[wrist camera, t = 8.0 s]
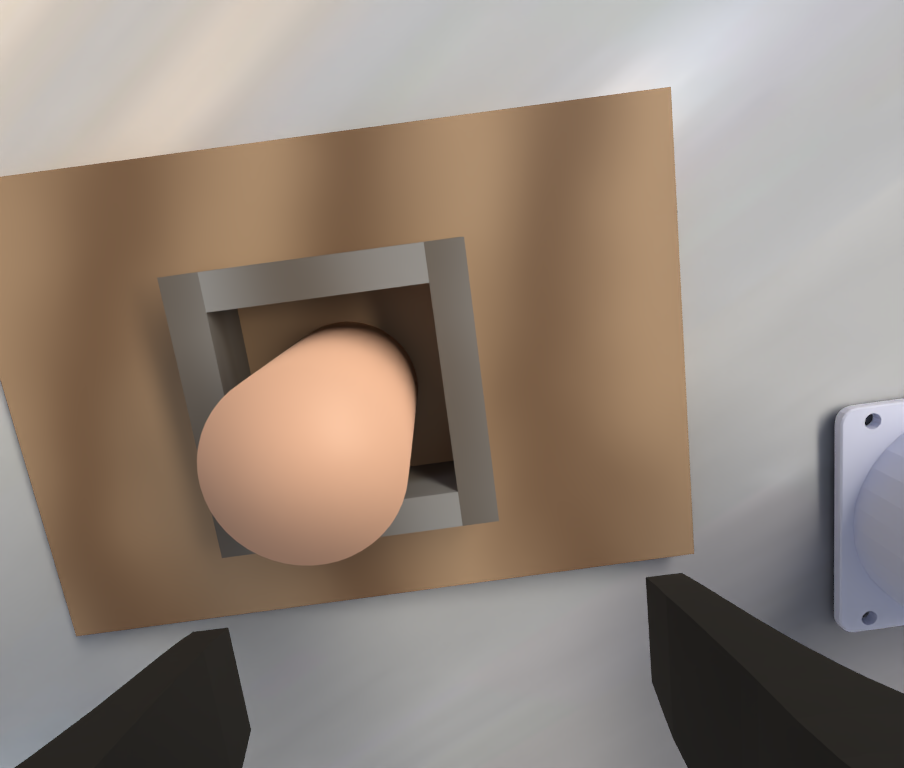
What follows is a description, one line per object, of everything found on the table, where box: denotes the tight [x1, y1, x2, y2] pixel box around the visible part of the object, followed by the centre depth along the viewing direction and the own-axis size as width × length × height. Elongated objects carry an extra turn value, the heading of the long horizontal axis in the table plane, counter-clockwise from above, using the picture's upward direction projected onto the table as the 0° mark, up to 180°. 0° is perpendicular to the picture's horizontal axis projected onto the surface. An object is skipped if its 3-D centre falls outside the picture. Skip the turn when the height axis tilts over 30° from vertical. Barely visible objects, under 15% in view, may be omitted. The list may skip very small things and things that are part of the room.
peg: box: [197, 321, 418, 566], centre depth 16 cm, size 4×4×7 cm
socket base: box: [0, 87, 694, 636], centre depth 18 cm, size 20×14×4 cm
